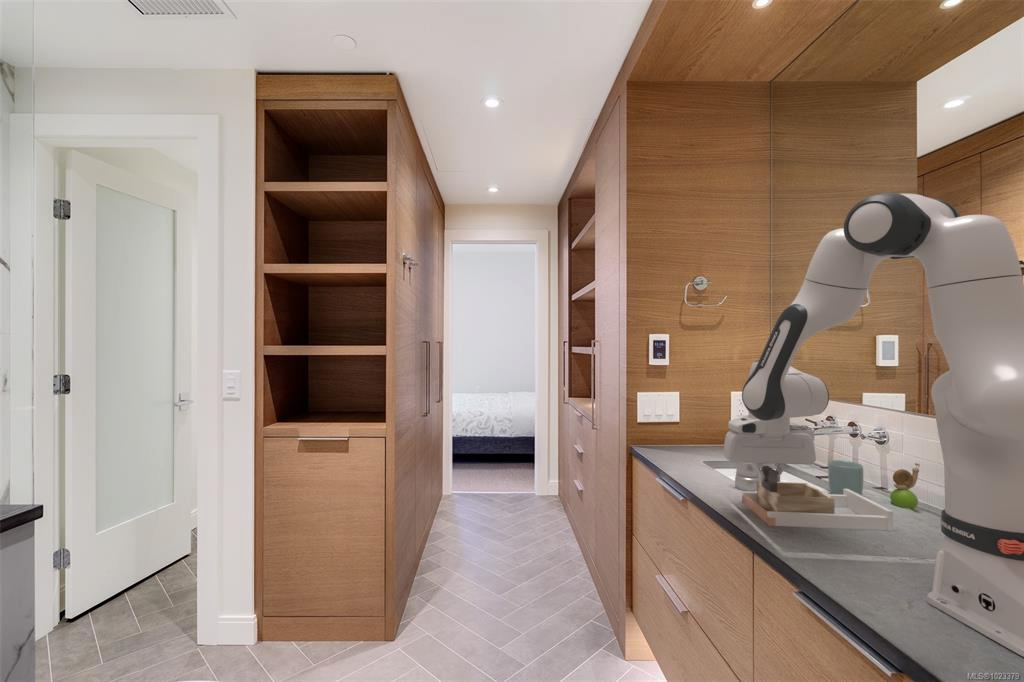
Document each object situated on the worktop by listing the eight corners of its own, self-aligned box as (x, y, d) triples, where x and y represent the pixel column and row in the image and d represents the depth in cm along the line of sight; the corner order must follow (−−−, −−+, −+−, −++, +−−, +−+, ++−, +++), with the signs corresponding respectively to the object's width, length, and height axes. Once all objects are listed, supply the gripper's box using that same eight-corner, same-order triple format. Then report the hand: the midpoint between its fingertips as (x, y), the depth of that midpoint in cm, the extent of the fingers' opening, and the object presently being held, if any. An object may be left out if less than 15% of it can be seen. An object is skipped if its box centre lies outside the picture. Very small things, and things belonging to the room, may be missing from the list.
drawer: (834, 525, 104) (834, 477, 104) (777, 522, 105) (777, 475, 106) (806, 506, 116) (806, 463, 116) (755, 504, 117) (755, 462, 117)
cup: (863, 507, 119) (863, 469, 119) (827, 501, 124) (827, 464, 124) (863, 499, 125) (863, 463, 125) (829, 493, 130) (828, 458, 130)
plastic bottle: (764, 496, 127) (764, 425, 127) (738, 495, 128) (737, 424, 129) (756, 489, 133) (756, 421, 134) (731, 488, 135) (731, 420, 135)
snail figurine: (928, 513, 114) (927, 466, 114) (902, 513, 115) (901, 466, 115) (909, 506, 120) (909, 460, 120) (884, 506, 120) (884, 460, 120)
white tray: (893, 536, 101) (893, 511, 101) (769, 531, 104) (769, 506, 104) (848, 510, 117) (848, 488, 117) (742, 506, 120) (742, 485, 120)
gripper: (807, 423, 113) (807, 478, 113) (721, 421, 116) (721, 476, 116) (821, 427, 107) (821, 486, 107) (730, 425, 109) (730, 483, 109)
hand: (769, 481), depth 111 cm, fingers closed on drawer, 2 cm apart
